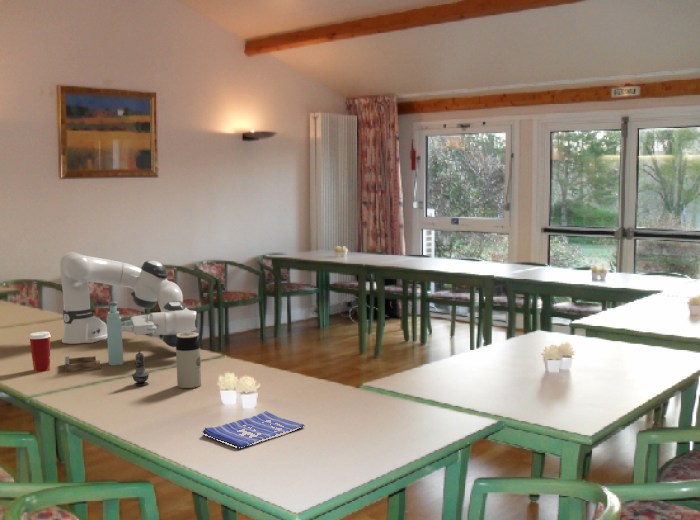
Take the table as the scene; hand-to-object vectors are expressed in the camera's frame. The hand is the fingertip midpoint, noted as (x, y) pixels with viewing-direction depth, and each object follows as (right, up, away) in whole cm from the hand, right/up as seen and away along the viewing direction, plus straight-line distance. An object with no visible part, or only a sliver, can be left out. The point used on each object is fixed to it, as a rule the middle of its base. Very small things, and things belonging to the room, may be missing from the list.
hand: (119, 326), depth 288 cm
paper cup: (-27, -16, -7) cm, 32 cm away
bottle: (-2, -14, +1) cm, 14 cm away
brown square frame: (-13, -15, -3) cm, 20 cm away
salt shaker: (+16, -18, -29) cm, 38 cm away
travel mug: (+34, -18, -32) cm, 49 cm away
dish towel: (+62, -23, -79) cm, 103 cm away
